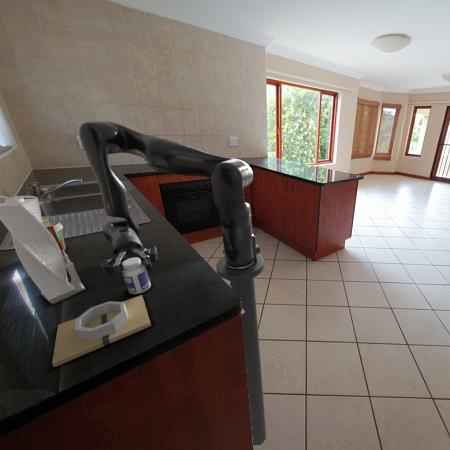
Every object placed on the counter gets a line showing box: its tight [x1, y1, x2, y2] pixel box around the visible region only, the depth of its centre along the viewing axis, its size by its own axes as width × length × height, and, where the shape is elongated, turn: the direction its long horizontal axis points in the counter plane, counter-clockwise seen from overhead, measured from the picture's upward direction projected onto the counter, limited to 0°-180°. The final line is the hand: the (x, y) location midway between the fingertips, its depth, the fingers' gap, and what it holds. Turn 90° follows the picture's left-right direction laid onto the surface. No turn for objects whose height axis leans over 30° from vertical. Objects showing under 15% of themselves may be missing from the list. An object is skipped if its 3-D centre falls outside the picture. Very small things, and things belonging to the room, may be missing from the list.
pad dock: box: [51, 294, 152, 368], centre depth 53 cm, size 16×12×4 cm
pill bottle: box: [122, 258, 152, 295], centre depth 64 cm, size 5×5×9 cm
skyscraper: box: [0, 195, 87, 305], centre depth 58 cm, size 8×8×28 cm
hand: (134, 271), depth 61 cm, fingers closed on pill bottle, 5 cm apart
